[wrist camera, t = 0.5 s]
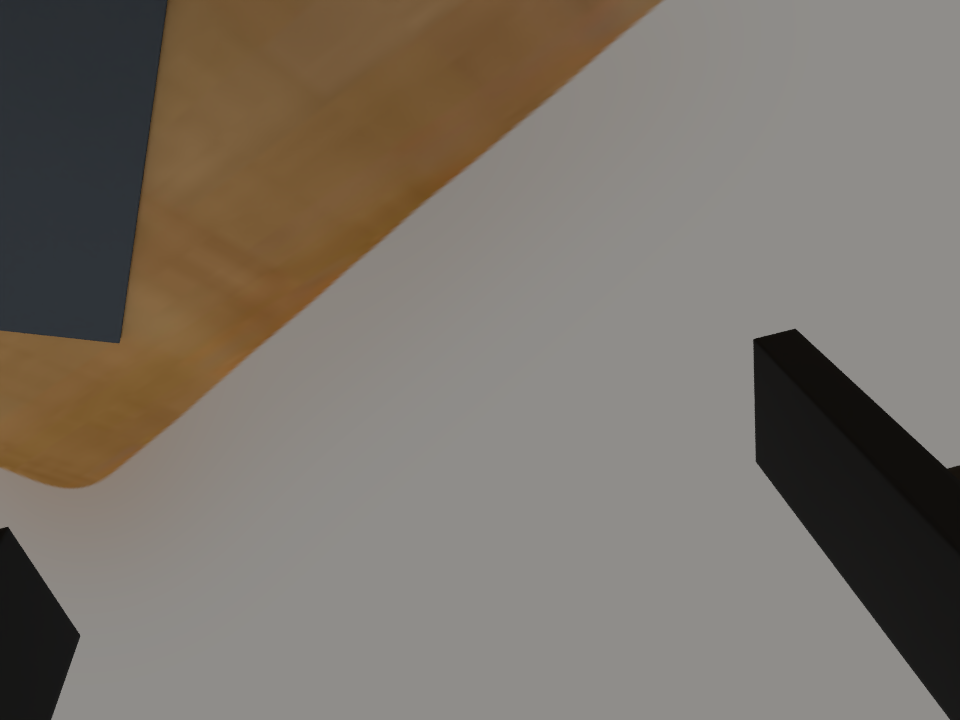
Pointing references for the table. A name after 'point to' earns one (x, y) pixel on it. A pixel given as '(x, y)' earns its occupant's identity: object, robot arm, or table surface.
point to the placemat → (72, 159)
